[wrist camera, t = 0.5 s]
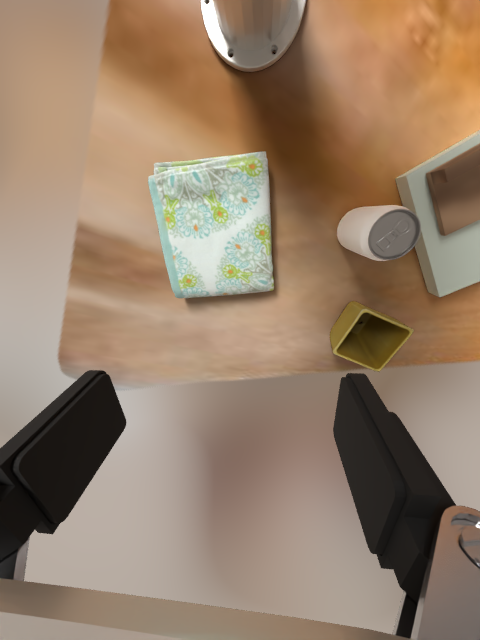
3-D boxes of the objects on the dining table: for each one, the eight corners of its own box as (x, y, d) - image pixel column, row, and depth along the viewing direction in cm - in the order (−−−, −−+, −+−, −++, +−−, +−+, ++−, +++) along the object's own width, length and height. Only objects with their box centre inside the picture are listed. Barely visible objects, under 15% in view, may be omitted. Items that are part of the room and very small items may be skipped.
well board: (394, 178, 34) (406, 175, 31) (508, 113, 30) (532, 103, 27) (427, 291, 40) (439, 297, 38) (524, 251, 36) (545, 254, 33)
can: (386, 225, 37) (438, 230, 26) (354, 257, 39) (388, 274, 28) (359, 197, 35) (400, 190, 25) (327, 232, 38) (352, 240, 27)
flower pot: (319, 328, 45) (331, 353, 37) (344, 289, 42) (363, 308, 34) (359, 345, 46) (379, 373, 38) (386, 308, 42) (415, 330, 34)
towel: (268, 151, 34) (269, 142, 30) (273, 287, 43) (274, 296, 39) (155, 167, 37) (139, 161, 32) (181, 293, 46) (172, 302, 41)
